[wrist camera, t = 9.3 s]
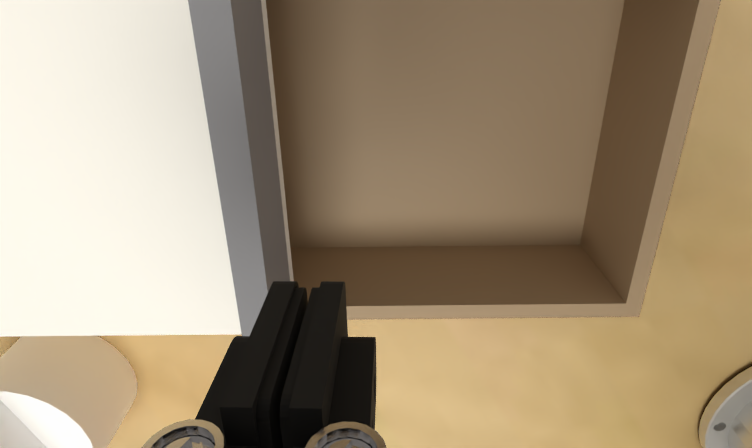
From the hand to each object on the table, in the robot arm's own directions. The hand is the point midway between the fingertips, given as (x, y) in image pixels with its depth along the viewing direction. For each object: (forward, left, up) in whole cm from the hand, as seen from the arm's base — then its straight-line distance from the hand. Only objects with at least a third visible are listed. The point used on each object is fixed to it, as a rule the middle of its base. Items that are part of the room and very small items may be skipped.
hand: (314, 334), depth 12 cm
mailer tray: (-3, 0, -18) cm, 18 cm away
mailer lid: (+14, 0, -11) cm, 17 cm away
